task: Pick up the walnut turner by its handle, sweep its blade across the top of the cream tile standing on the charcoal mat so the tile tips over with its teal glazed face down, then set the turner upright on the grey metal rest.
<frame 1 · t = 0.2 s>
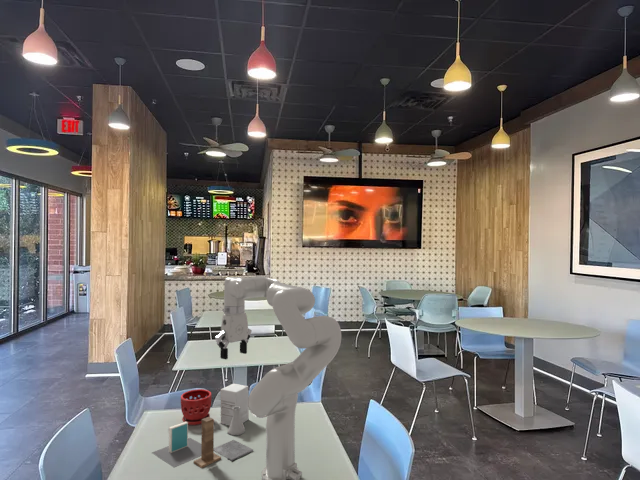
hand: (233, 355, 155), 36 cm above the table, tool pointing down, fingers open, 9 cm apart
plant pot: (196, 421, 182), on the table
flask: (236, 432, 172), on the table
supplement box: (234, 422, 182), on the table
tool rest: (232, 450, 156), on the table
turner: (207, 462, 147), on the table
mat: (182, 452, 154), on the table
tile: (178, 449, 156), resting on mat
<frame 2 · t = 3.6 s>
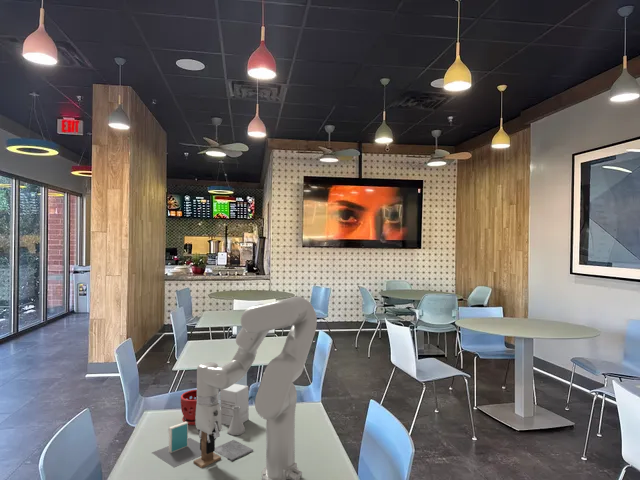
hand: (207, 450, 147), 4 cm above the table, tool pointing down, fingers closed on turner, 3 cm apart
turner: (207, 462, 147), on the table, touching gripper
everything else where it was.
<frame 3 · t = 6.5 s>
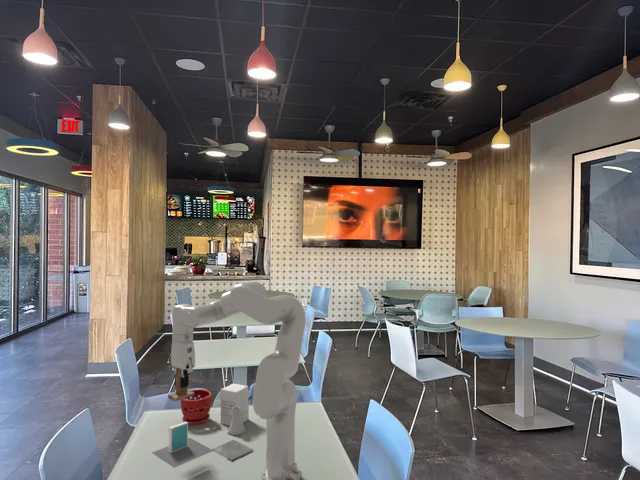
hand: (181, 385, 157), 24 cm above the table, tool pointing down, fingers closed on turner, 3 cm apart
turner: (181, 396, 157), point 20 cm above the table, touching gripper
everything else where it was.
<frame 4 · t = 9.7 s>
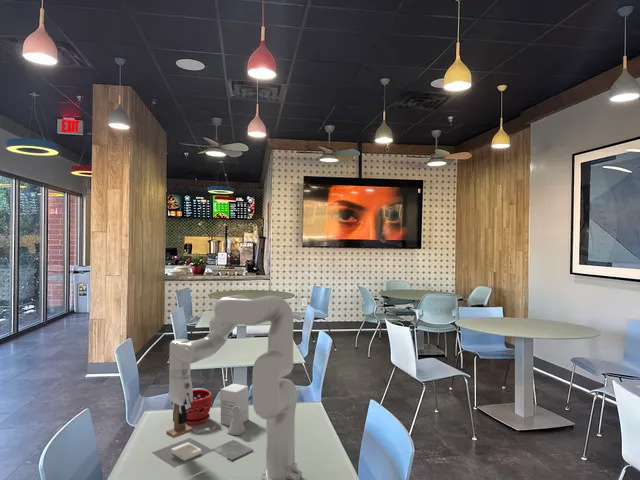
hand: (179, 421, 156), 11 cm above the table, tool pointing down, fingers closed on turner, 3 cm apart
turner: (179, 432, 156), point 7 cm above the table, touching gripper
tile: (179, 447, 156), point 1 cm above the table, tilted 90°, touching mat
everything else where it was.
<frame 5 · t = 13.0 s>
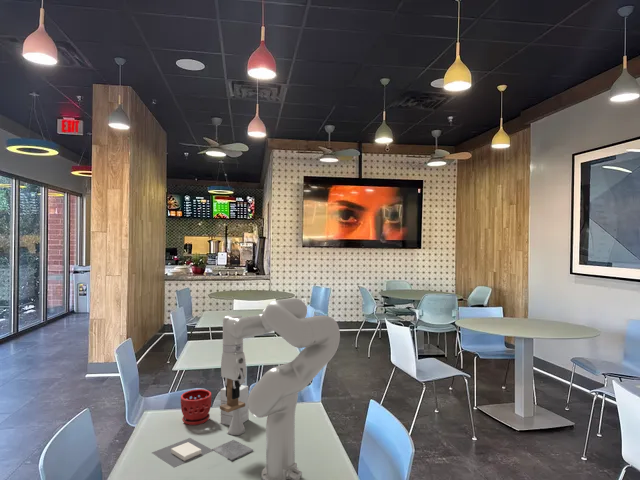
hand: (232, 396, 156), 20 cm above the table, tool pointing down, fingers closed on turner, 3 cm apart
turner: (232, 407, 156), point 16 cm above the table, touching gripper
everything else where it was.
when the fingers open (6 cm above the table, at t = 15.7 s): turner drops 1 cm, resting on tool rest.
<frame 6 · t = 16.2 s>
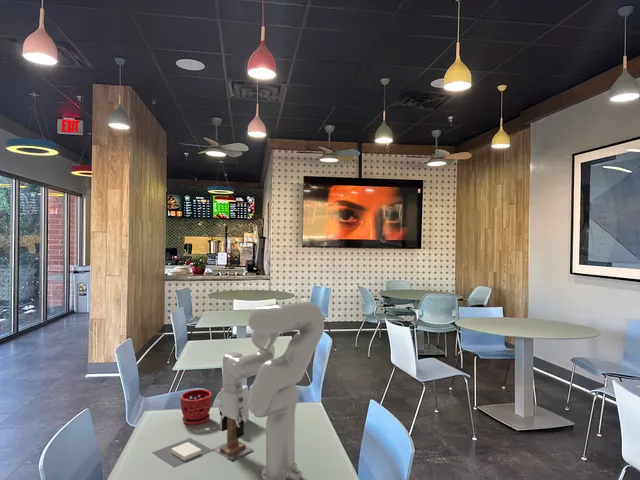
hand: (232, 433, 156), 7 cm above the table, tool pointing down, fingers open, 8 cm apart
turner: (232, 449, 155), point 1 cm above the table, touching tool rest
everything else where it was.
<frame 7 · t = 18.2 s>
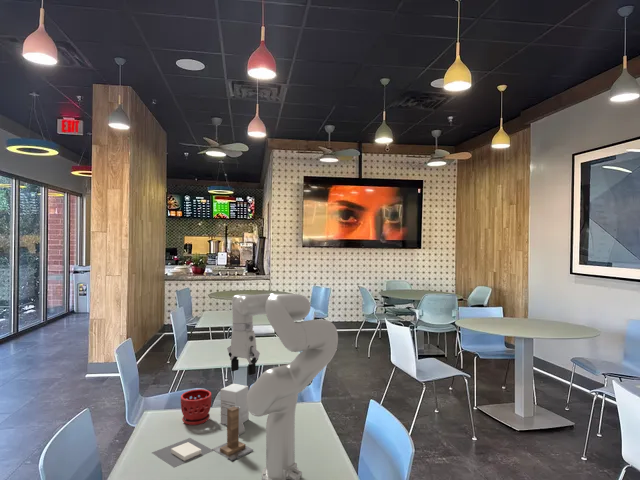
hand: (243, 372, 157), 29 cm above the table, tool pointing down, fingers open, 9 cm apart
nothing on the table moved.
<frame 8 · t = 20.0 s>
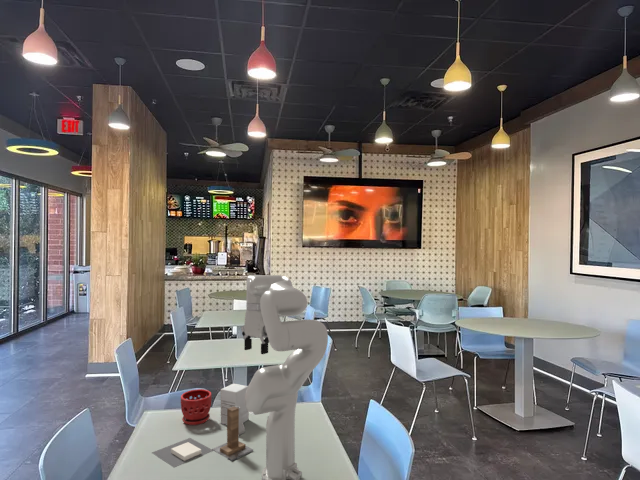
hand: (256, 351, 160), 36 cm above the table, tool pointing down, fingers open, 9 cm apart
nothing on the table moved.
at the end: tile tilted 90°; turner inside the target area (0.2 cm from its centre), point 0.6 cm above the table; turner tilted 0° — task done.
